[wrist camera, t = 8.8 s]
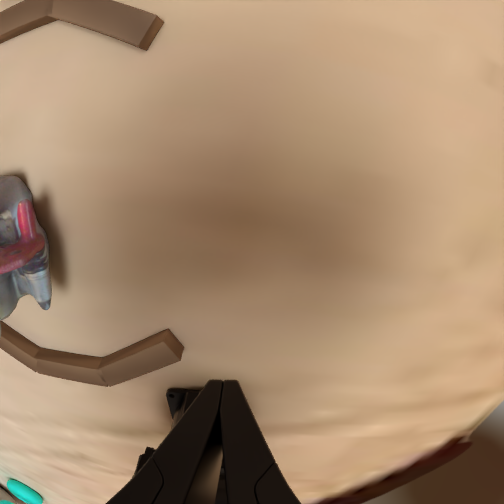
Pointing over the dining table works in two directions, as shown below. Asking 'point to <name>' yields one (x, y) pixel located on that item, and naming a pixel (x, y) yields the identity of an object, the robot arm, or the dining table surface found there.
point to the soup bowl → (6, 496)
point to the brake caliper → (21, 249)
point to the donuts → (22, 493)
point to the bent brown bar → (38, 359)
